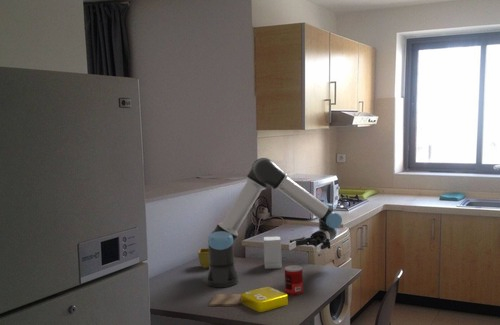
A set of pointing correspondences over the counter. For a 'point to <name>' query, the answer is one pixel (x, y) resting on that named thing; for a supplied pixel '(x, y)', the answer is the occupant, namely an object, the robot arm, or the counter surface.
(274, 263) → the supplement box
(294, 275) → the canned food
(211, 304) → the walnut trivet
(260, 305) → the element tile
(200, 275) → the counter surface
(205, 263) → the flower pot
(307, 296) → the counter surface
